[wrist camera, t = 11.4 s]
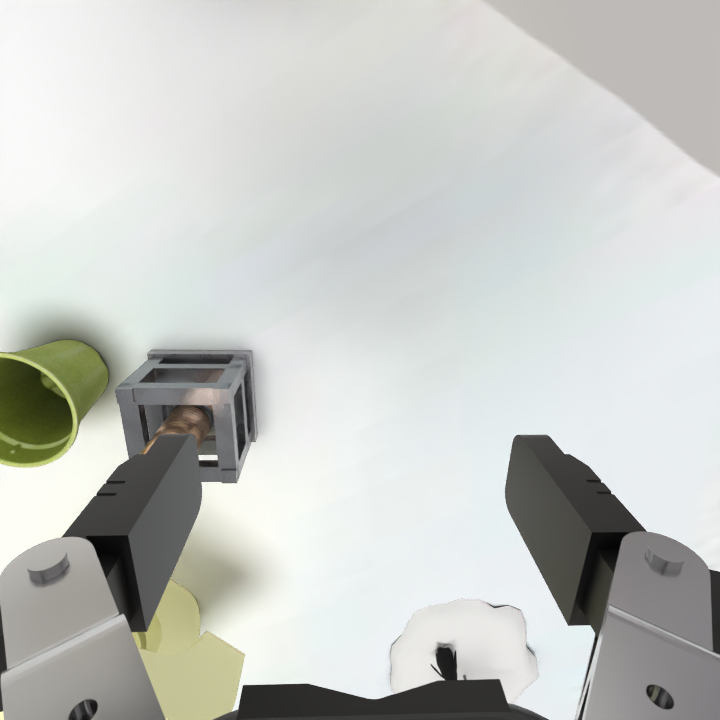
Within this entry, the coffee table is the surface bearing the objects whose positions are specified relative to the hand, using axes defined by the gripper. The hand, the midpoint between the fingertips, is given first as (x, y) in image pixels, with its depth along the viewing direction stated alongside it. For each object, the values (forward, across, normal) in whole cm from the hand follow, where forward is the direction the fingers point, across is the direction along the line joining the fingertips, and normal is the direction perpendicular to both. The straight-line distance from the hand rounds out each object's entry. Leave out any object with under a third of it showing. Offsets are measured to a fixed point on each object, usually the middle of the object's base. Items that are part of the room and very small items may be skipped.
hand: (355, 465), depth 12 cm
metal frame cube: (+30, +13, +12) cm, 35 cm away
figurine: (+30, -15, +48) cm, 59 cm away
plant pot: (+30, +25, +10) cm, 40 cm away
